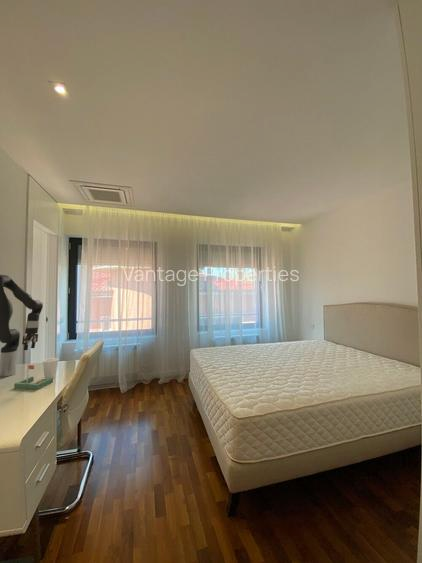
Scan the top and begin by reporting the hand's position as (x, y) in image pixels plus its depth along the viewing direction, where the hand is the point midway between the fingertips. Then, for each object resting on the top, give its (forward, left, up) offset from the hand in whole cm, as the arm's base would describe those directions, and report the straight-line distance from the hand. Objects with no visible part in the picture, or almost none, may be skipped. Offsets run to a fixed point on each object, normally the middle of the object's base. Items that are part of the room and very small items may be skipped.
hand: (29, 349), depth 169 cm
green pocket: (+18, -14, -20) cm, 30 cm away
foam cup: (+18, -1, -20) cm, 27 cm away
